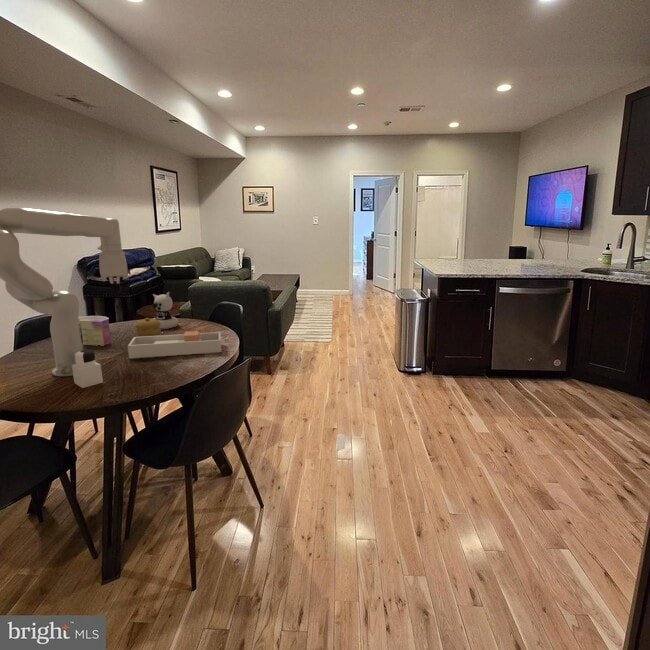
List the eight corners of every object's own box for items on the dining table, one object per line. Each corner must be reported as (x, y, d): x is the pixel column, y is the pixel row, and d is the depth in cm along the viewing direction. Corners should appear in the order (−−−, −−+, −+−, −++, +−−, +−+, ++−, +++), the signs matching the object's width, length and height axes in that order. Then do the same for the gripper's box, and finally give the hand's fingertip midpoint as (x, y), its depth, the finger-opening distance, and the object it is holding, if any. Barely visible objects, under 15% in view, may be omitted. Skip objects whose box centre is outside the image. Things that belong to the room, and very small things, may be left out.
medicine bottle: (94, 378, 157) (90, 347, 154) (103, 382, 153) (99, 351, 150) (74, 383, 152) (69, 351, 149) (82, 388, 147) (77, 355, 144)
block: (198, 343, 187) (198, 335, 186) (184, 344, 185) (183, 335, 184) (199, 339, 193) (198, 331, 192) (185, 340, 192) (185, 331, 191)
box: (111, 342, 202) (108, 318, 199) (104, 346, 196) (101, 321, 193) (91, 341, 203) (87, 318, 200) (83, 345, 197) (79, 320, 194)
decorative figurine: (144, 329, 226) (140, 292, 221) (160, 323, 240) (157, 288, 235) (168, 331, 223) (165, 293, 218) (183, 324, 237) (180, 289, 232)
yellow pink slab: (121, 333, 218) (119, 318, 216) (75, 344, 199) (72, 327, 197) (94, 326, 231) (92, 312, 229) (49, 335, 212) (47, 320, 210)
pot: (132, 340, 206) (130, 320, 203) (142, 334, 217) (140, 315, 214) (156, 340, 206) (154, 320, 203) (165, 334, 217) (163, 315, 215)
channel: (221, 353, 187) (220, 340, 185) (129, 359, 178) (127, 345, 176) (221, 344, 200) (220, 332, 198) (135, 349, 191) (133, 337, 189)
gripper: (89, 249, 170) (95, 294, 174) (129, 249, 173) (134, 293, 178) (94, 248, 177) (99, 291, 181) (132, 248, 180) (137, 290, 185)
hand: (116, 292), depth 180 cm, fingers closed
